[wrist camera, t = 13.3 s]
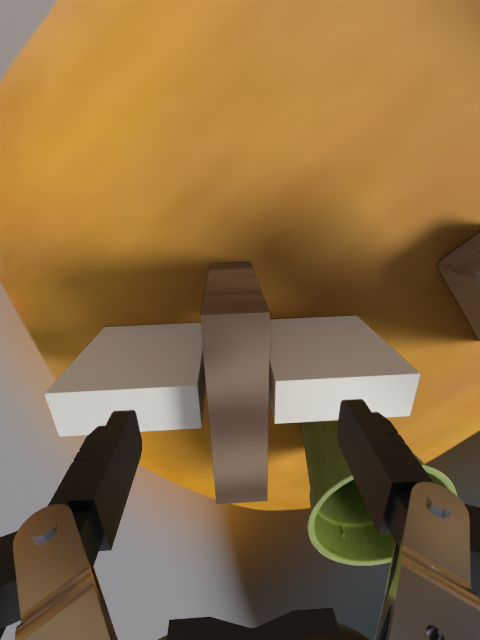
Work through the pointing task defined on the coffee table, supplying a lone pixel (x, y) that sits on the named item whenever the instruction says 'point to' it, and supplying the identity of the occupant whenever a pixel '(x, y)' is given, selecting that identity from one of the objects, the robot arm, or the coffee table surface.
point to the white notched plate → (189, 379)
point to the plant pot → (344, 502)
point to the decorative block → (465, 279)
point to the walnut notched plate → (237, 380)
